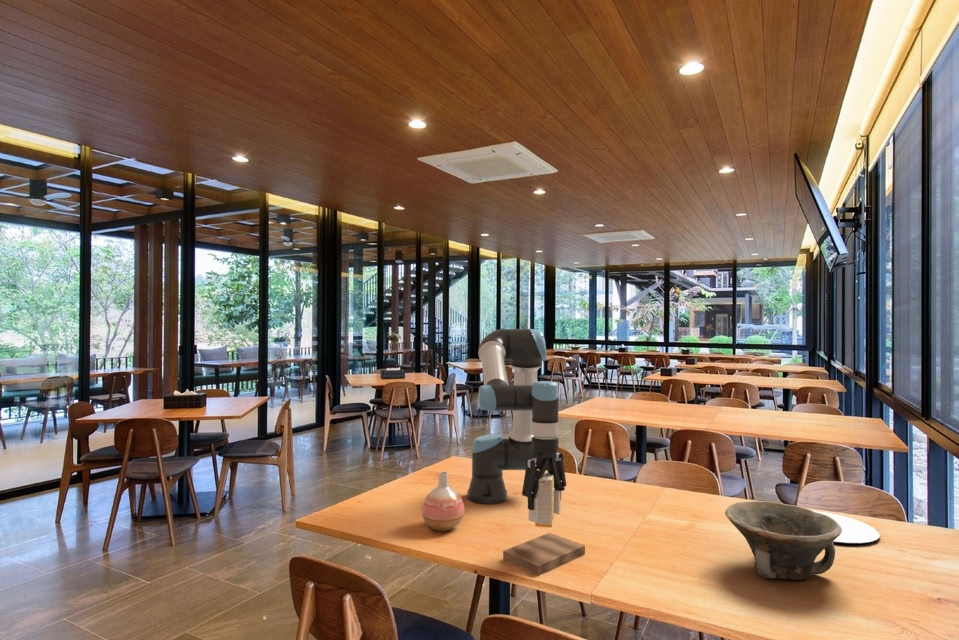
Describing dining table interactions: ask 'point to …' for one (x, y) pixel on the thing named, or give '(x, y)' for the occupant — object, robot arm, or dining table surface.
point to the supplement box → (545, 500)
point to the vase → (443, 506)
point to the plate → (853, 530)
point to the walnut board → (543, 553)
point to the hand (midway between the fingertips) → (544, 517)
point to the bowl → (786, 538)
